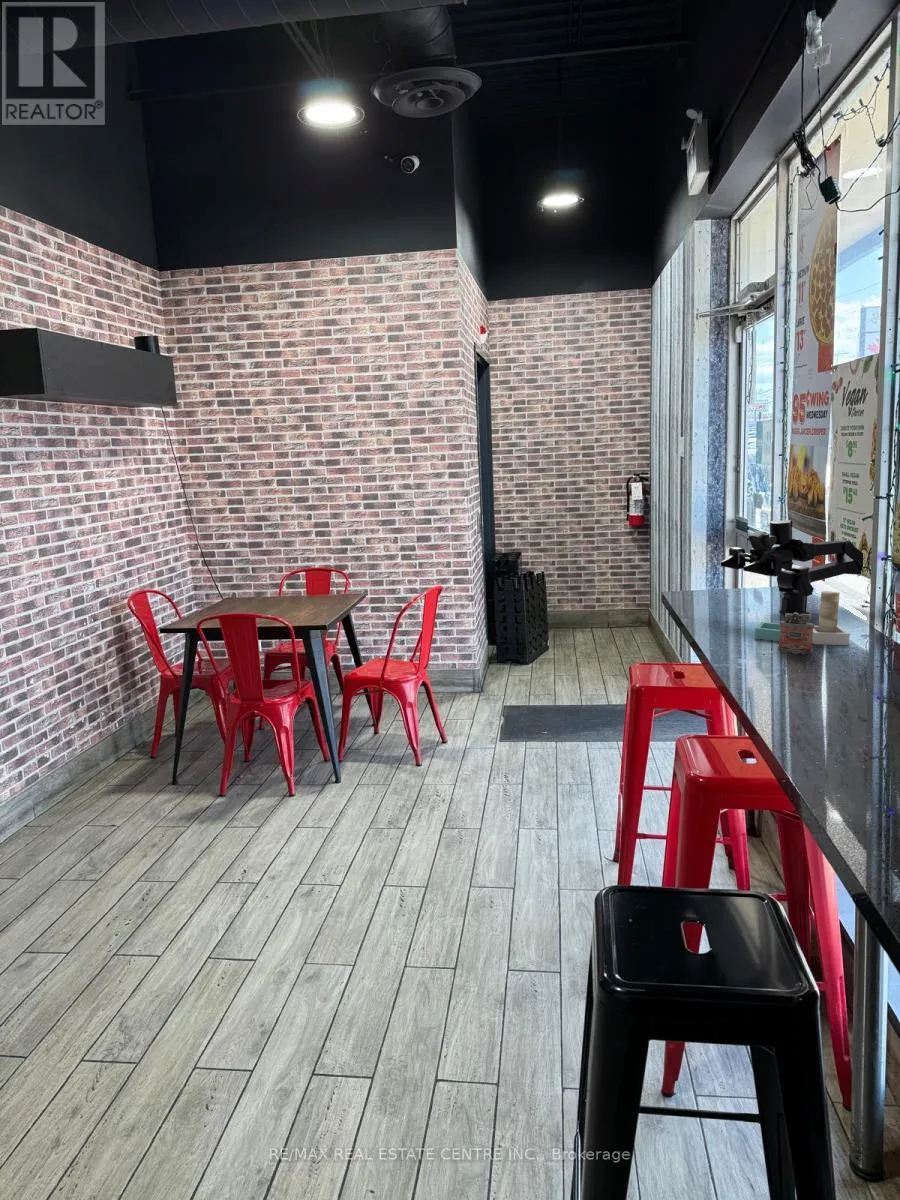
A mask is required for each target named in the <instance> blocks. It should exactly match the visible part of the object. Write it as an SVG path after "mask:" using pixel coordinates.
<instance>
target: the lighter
mask: <svg viewBox="0 0 900 1200" xmlns="http://www.w3.org/2000/svg"><path fill="white" fill-rule="evenodd" d="M784 614H785V613H784ZM784 619H785V620H780V621H779V624H780V636H779V642H778V646H777V651H778V650H779V651H778V652H781V651H785V652H784V653H788V652H792V653H791V654H798V653H802V654H801V655H811V653H812V654H813V649H812V646H813V643H812V635H813V628H814V626H815V624H814V623H811V622H807V621H812V615H811V614H801V615H800V614H798V613H797V612H795V613H793V614H788V613H786V614H785V615H784ZM804 653H805V654H804ZM809 653H810V654H809Z"/></svg>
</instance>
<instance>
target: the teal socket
mask: <svg viewBox="0 0 900 1200" xmlns="http://www.w3.org/2000/svg"><path fill="white" fill-rule="evenodd" d="M779 636H780V623H776V622H765V621H761V622H760V623H759V624H758V625H757V626H755V628H754V640H758V639H765V640H764V641H767V640H773V641H772V642H776V641H779Z"/></svg>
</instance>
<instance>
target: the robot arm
mask: <svg viewBox="0 0 900 1200" xmlns="http://www.w3.org/2000/svg"><path fill="white" fill-rule="evenodd" d="M748 540H749V542H750V544H751V548H749V553H750V554H749V553H746V550H745V549H744V548H742V547H738V546H733V547H729V549H728V557H726V558H725V559H723V560H722V561H721V562H720V566H721V567H723V568H727V569H732V570H733V569H734V570H743V571H744V572H749V573H753V574H757V575H762V576H767V577H773V578H775V577H776V583H777V587H778V591H779V592H780V593H783V594H782V598H781V608H780V609H778V612H779V613H782V614H786V613H788V614H793V613H795V612H797V613H798V614H800V615H801V614H809V615H811V612H808V611H807V604H808V597H809V596H812V595H813V593H814V589H815V588H814V587H813V584H812V583H815V582H818V581H819V582H820V581H822V580H825V579H830V578H834V577H838V576H841V575H862V574H861V570H862V567H863V554H864V552H862V551H861V550H860V549H858V548H857V547H856V546H855V545H854V543H853V542H852V541H850V540H845V539H839V538H838V539H835V540H827V541H818V542H803V541H802V540H800V539H799V538H793V521H792V520H791V519H789V520H788V519H786V520H771V521H769V533H768V532H767V531H762V530H756V531H753V533H751V534H750V535H748ZM775 545H776V546H775ZM829 555H830V556H832V555H835V557H834V559H835V561H832V562H827V563H824V564H818V565H816V566H811V567H807V566H802V565H798V564H794V562H793V561H797V562H803V563H805V562H808V561H811V560H813V559H815V558H816V557H821V556H829ZM746 563H749V564H747V565H746Z"/></svg>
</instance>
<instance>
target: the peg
mask: <svg viewBox="0 0 900 1200" xmlns="http://www.w3.org/2000/svg"><path fill="white" fill-rule="evenodd" d="M839 603H840V592H839V591H832V590H831V591H830V590H825V591H820V603H819V604H820V605H819V616H818V626H819V628H818V632H831V633H836V631H837V626H838V618H839V617H838V616H839V615H838V614H839V606H840V605H839Z"/></svg>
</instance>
